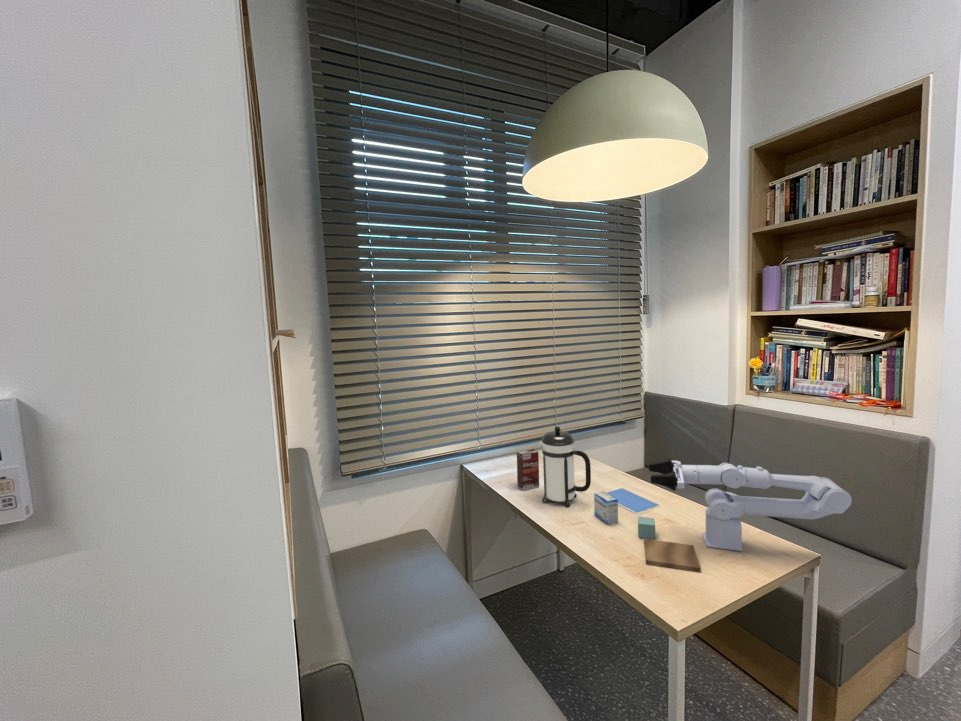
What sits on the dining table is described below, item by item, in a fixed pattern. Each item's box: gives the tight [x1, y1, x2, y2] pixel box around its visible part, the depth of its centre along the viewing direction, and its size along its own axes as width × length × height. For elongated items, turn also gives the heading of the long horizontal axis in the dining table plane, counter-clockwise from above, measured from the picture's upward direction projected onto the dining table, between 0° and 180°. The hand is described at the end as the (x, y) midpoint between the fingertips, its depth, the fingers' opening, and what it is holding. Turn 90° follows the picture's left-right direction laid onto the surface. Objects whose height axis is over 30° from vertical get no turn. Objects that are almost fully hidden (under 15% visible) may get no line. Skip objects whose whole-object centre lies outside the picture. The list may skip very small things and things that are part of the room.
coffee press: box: [538, 426, 592, 508], centre depth 159 cm, size 17×16×30 cm
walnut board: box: [643, 539, 701, 573], centre depth 119 cm, size 14×12×1 cm
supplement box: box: [516, 449, 540, 492], centre depth 174 cm, size 9×5×16 cm, turn 114°
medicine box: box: [593, 490, 619, 525], centre depth 143 cm, size 8×4×9 cm, turn 21°
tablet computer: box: [606, 488, 661, 515], centre depth 157 cm, size 19×13×1 cm, turn 27°
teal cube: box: [637, 515, 656, 540], centre depth 132 cm, size 5×5×5 cm
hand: (649, 473), depth 130 cm, fingers open, 7 cm apart
